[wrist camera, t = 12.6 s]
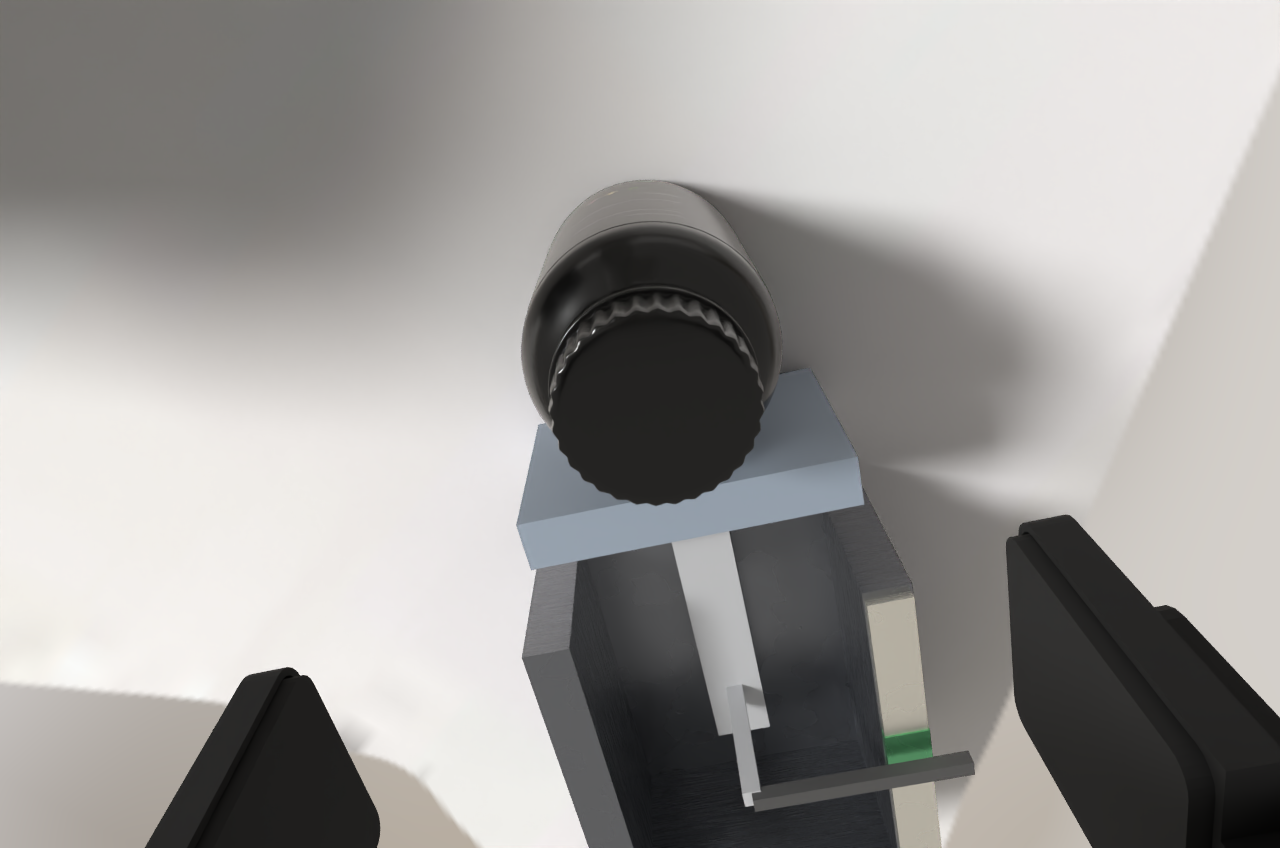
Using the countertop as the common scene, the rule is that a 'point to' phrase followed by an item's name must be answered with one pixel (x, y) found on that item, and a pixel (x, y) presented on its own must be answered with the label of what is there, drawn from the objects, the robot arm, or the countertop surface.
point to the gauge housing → (790, 677)
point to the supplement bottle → (651, 344)
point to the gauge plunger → (724, 564)
